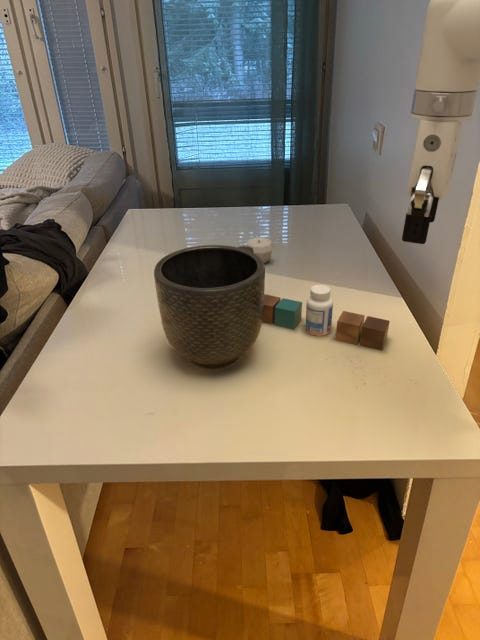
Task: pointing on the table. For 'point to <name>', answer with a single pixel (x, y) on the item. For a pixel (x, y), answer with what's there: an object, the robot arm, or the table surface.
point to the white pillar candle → (261, 247)
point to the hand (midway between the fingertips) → (418, 230)
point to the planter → (211, 302)
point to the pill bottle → (319, 310)
